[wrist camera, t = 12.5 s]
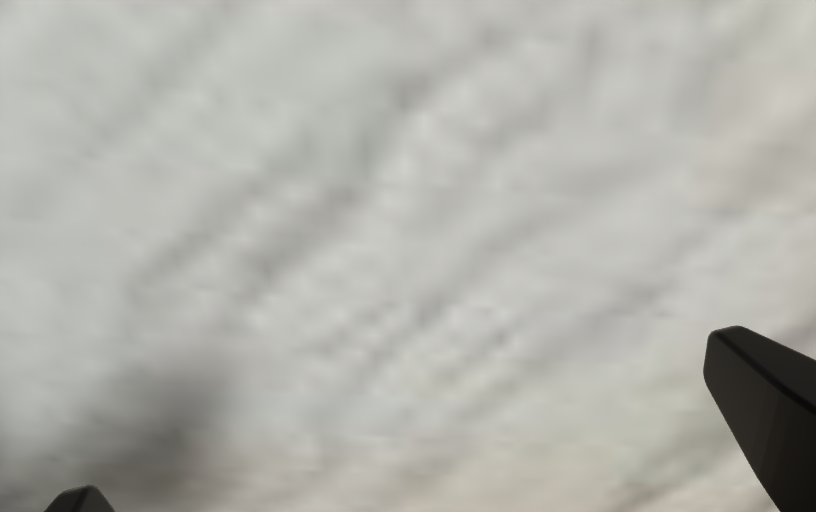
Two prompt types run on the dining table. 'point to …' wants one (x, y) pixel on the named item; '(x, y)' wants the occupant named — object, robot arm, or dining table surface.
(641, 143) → the dining table surface
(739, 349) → the robot arm
